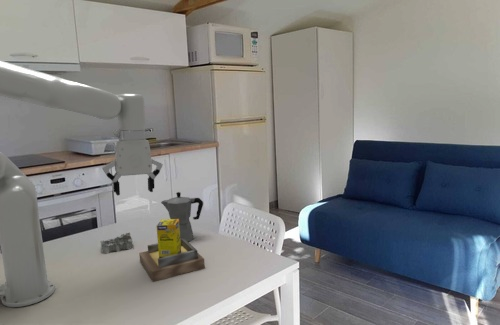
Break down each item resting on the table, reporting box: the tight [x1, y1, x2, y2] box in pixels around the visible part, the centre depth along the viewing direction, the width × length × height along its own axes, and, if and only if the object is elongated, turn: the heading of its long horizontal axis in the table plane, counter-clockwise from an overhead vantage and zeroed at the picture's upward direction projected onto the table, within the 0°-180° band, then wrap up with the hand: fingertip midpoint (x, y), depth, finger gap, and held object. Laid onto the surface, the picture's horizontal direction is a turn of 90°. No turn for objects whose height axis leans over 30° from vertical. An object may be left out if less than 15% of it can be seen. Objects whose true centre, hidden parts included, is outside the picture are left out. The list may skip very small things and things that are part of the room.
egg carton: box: [100, 232, 134, 254], centre depth 133 cm, size 11×8×4 cm
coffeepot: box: [160, 191, 204, 243], centre depth 138 cm, size 15×9×18 cm, turn 92°
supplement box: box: [156, 218, 181, 258], centre depth 116 cm, size 6×6×11 cm
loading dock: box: [138, 238, 206, 282], centre depth 118 cm, size 16×16×6 cm
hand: (134, 192), depth 113 cm, fingers open, 9 cm apart
